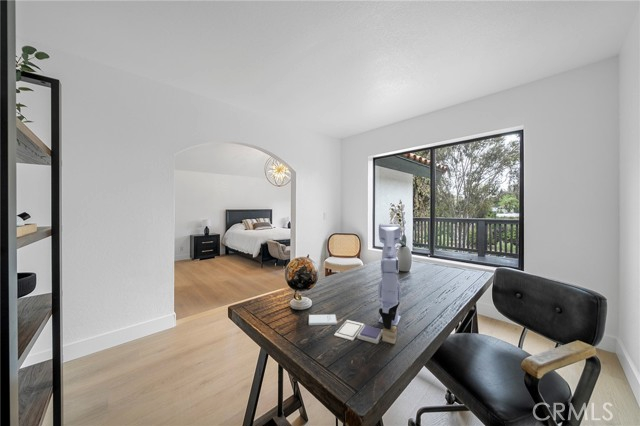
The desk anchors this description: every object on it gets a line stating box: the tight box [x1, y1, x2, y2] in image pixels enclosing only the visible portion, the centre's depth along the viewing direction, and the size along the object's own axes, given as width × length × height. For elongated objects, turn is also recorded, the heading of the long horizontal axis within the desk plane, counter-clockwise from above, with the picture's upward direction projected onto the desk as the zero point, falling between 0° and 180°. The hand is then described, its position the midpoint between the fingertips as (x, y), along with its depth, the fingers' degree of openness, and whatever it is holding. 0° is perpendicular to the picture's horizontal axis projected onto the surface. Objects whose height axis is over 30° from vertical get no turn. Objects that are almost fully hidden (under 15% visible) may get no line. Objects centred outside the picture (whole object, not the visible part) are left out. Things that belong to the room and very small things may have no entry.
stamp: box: [382, 325, 398, 346], centre depth 91 cm, size 4×4×5 cm
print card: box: [333, 319, 365, 342], centre depth 99 cm, size 14×8×1 cm, turn 151°
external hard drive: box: [308, 314, 338, 326], centre depth 108 cm, size 2×8×12 cm
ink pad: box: [356, 324, 383, 345], centre depth 95 cm, size 9×8×2 cm
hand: (389, 324), depth 91 cm, fingers open, 7 cm apart
